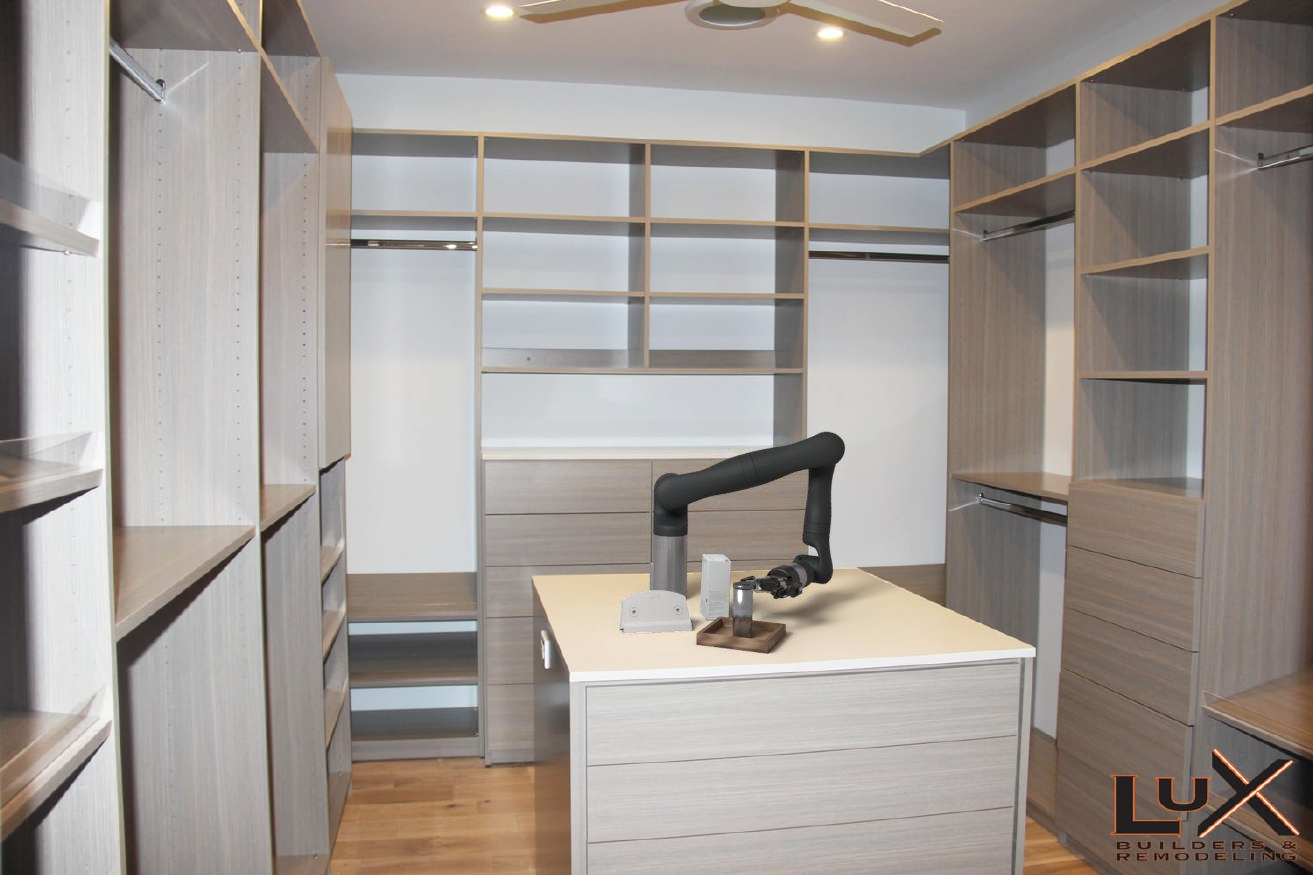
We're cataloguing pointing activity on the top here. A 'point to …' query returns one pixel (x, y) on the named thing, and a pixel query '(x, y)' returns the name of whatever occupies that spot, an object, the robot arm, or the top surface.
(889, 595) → the top surface
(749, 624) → the steel canister
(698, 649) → the top surface
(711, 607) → the skincare box
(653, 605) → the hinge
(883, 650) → the top surface
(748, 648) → the walnut tray
